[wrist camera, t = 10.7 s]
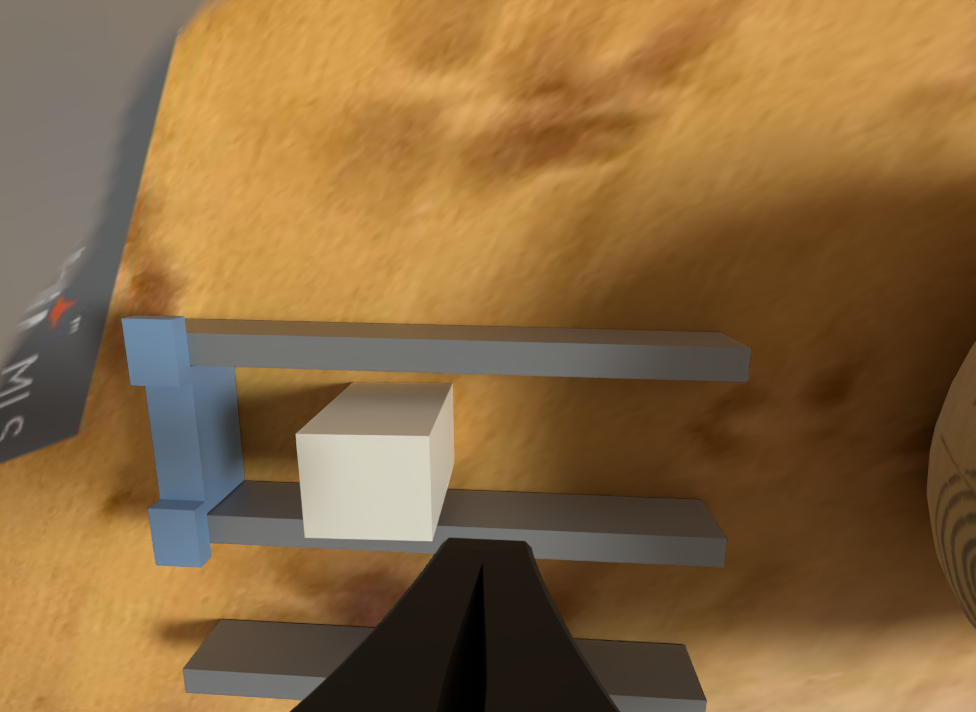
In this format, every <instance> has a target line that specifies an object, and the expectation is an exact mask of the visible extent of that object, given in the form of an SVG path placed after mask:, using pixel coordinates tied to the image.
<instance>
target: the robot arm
mask: <svg viewBox="0 0 976 712" xmlns="http://www.w3.org/2000/svg"><path fill="white" fill-rule="evenodd" d="M290 712H620V711H619V709H618V708H617V706H616V705H615V703H614V702H613V701H612V699H611V698H610V696H609V695H608V693H607V692H606V690H605V689H604V687H603V686H602V684H601V683H600V681H599V680H598V678H597V676H596V675H595V673H594V672H593V670H592V669H591V667H590V666H589V664H588V662H587V661H586V659H585V658H584V656H583V654H582V653H581V651H580V649H579V648H578V646H577V644H576V643H575V641H574V639H573V637H572V636H571V634H570V632H569V630H568V628H567V626H566V625H565V623H564V621H563V619H562V617H561V615H560V614H559V612H558V610H557V608H556V606H555V604H554V602H553V600H552V598H551V596H550V594H549V592H548V590H547V588H546V585H545V583H544V581H543V579H542V576H541V574H540V572H539V569H538V566H537V564H536V561H535V558H534V555H533V551H532V548H531V547H530V545H529V544H528V543H527V542H526V541H515V540H494V539H472V538H450V537H449V538H448V539H447V540H445V541H444V542H443V543H442V544H441V546H440V547H439V549H438V550H437V552H436V553H435V554H434V556H433V557H432V559H431V560H430V561H429V563H428V564H427V566H426V567H425V568H424V570H423V571H422V572H421V573H420V575H419V576H418V577H417V579H416V580H415V581H414V582H413V584H412V585H411V586H410V588H409V589H408V590H407V591H406V592H405V594H404V595H403V596H402V597H401V598H400V599H399V601H398V602H397V603H396V604H395V605H394V607H393V608H392V609H391V610H390V611H389V613H388V614H387V615H386V616H385V617H384V618H383V620H382V621H381V622H380V623H379V624H378V625H377V626H376V627H375V628H374V630H373V631H372V632H371V633H370V634H369V635H368V636H367V637H366V638H365V639H364V640H363V641H362V642H361V643H360V644H359V645H358V646H357V647H356V648H355V650H354V651H353V652H352V653H351V654H350V655H349V656H348V657H347V658H346V659H345V660H344V661H343V662H342V663H341V664H340V665H339V666H338V667H337V668H336V669H335V670H334V671H333V672H332V673H331V674H330V675H329V676H328V677H327V678H326V679H325V680H324V681H323V682H322V683H321V684H320V685H319V686H318V687H316V688H315V689H314V690H313V691H312V692H311V693H310V694H309V695H308V696H307V697H306V698H305V699H303V700H302V701H301V702H300V703H299V704H298V705H297V706H296V707H294V708H293V709H292V710H291V711H290Z"/></svg>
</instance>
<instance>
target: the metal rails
mask: <svg viewBox="0 0 976 712" xmlns="http://www.w3.org/2000/svg"><path fill="white" fill-rule="evenodd" d="M121 319H122V326H123V333H124V341H125V348H126V355H127V362H128V369H129V377H130V384H131V385H135V386H145V389H146V396H147V404H148V411H149V419H150V426H151V434H152V441H153V449H154V456H155V464H156V472H157V479H158V487H159V494H160V500H158V501H157V502H156V503H154V504H153V505H152V506H150V507H149V508H148V513H149V521H150V528H151V535H152V542H153V549H154V557H155V564H156V565H161V566H180V567H200V568H201V567H202V566H203V565H204V564H205V563H206V562H207V561H208V560H209V559H210V558H211V548H210V543H220V544H241V545H262V546H283V547H304V548H325V549H346V550H367V551H388V552H409V553H430V554H435V553H436V552H437V550H438V549H439V547H440V546H441V544H442V543H443V542H444V541H445V540H447V539H448V538H449V537H450V538H472V539H494V540H515V541H526V542H527V543H528V544H529V545H530V547H531V548H532V551H533V555H534V558H535V559H555V560H576V561H597V562H618V563H639V564H660V565H680V566H701V567H722V568H724V563H725V555H726V547H727V537H726V536H725V534H724V533H723V531H722V530H721V528H720V527H719V525H718V524H717V522H716V521H715V519H714V518H713V516H712V515H711V513H710V512H709V510H708V509H707V507H706V506H705V504H704V503H703V501H702V500H699V499H675V498H651V497H626V496H602V495H578V494H554V493H530V492H505V491H481V490H457V489H447V491H446V495H445V499H444V502H443V506H442V509H441V513H440V516H439V520H438V523H437V527H436V530H435V534H434V537H433V541H403V540H367V539H331V538H305V534H304V523H303V512H302V501H301V490H300V483H288V482H264V481H244V480H245V477H244V466H243V456H242V445H241V434H240V424H239V413H238V402H237V391H236V381H235V370H234V367H256V368H289V369H323V370H356V371H390V372H423V373H457V374H490V375H524V376H557V377H591V378H624V379H658V380H691V381H724V382H748V375H749V367H750V359H751V351H752V348H751V347H749V346H747V345H745V344H743V343H741V342H739V341H737V340H735V339H733V338H731V337H729V336H727V335H725V334H723V333H721V332H702V331H662V330H623V329H583V328H543V327H503V326H463V325H424V324H384V323H344V322H304V321H264V320H225V319H185V317H184V316H145V315H135V316H130V317H126V318H121ZM373 630H374V628H369V627H351V626H332V625H314V624H296V623H278V622H260V621H242V620H224V619H221V620H220V621H219V622H218V624H217V625H216V626H215V628H214V629H213V630H212V631H211V633H210V634H209V635H208V637H207V638H206V639H205V641H204V642H203V643H202V644H201V646H200V647H199V648H198V650H197V651H196V652H195V654H194V655H193V656H192V657H191V659H190V660H189V661H188V663H187V664H186V665H185V667H184V668H183V675H184V683H185V690H186V693H198V694H213V695H229V696H245V697H261V698H277V699H293V700H303V699H305V698H306V697H307V696H308V695H309V694H310V693H311V692H312V691H313V690H314V689H315V688H316V687H318V686H319V685H320V684H321V683H322V682H323V681H324V680H325V679H326V678H327V677H328V676H329V675H330V674H331V673H332V672H333V671H334V670H335V669H336V668H337V667H338V666H339V665H340V664H341V663H342V662H343V661H344V660H345V659H346V658H347V657H348V656H349V655H350V654H351V653H352V652H353V651H354V650H355V648H356V647H357V646H358V645H359V644H360V643H361V642H362V641H363V640H364V639H365V638H366V637H367V636H368V635H369V634H370V633H371V632H372V631H373ZM574 641H575V643H576V644H577V646H578V648H579V649H580V651H581V653H582V654H583V656H584V658H585V659H586V661H587V662H588V664H589V666H590V667H591V669H592V670H593V672H594V673H595V675H596V676H597V678H598V680H599V681H600V683H601V684H602V686H603V687H604V689H605V690H606V692H607V693H608V695H609V696H610V698H611V699H612V701H613V702H614V703H615V705H616V706H617V708H618V709H619V711H620V712H705V711H706V703H707V700H706V697H705V695H704V692H703V690H702V687H701V685H700V682H699V680H698V677H697V675H696V672H695V670H694V667H693V665H692V662H691V659H690V657H689V654H688V652H687V649H686V647H685V645H675V644H657V643H639V642H621V641H603V640H585V639H574Z"/></svg>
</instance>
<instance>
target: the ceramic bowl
mask: <svg viewBox="0 0 976 712" xmlns="http://www.w3.org/2000/svg"><path fill="white" fill-rule="evenodd" d="M926 494H927V501H928V508H929V514H930V521H931V528H932V534H933V539H934V544H935V550H936V555H937V557H938V560H939V562H940V565H941V567H942V570H943V572H944V574H945V577H946V579H947V581H948V583H949V585H950V587H951V589H952V591H953V593H954V595H955V597H956V599H957V601H958V603H959V605H960V607H961V609H962V611H963V613H964V614H965V615H966V617H967V618H968V619H969V621H970V622H971V623H972V625H973V626H974V627H975V629H976V341H975V343H974V344H973V346H972V348H971V349H970V351H969V353H968V355H967V356H966V358H965V360H964V362H963V364H962V365H961V367H960V369H959V371H958V373H957V374H956V376H955V378H954V380H953V382H952V384H951V386H950V389H949V391H948V394H947V396H946V399H945V401H944V404H943V407H942V410H941V412H940V415H939V418H938V420H937V423H936V425H935V430H934V434H933V439H932V444H931V448H930V454H929V467H928V479H927V492H926Z"/></svg>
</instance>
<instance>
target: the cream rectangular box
mask: <svg viewBox="0 0 976 712" xmlns="http://www.w3.org/2000/svg"><path fill="white" fill-rule="evenodd" d="M296 445H297V456H298V467H299V478H300V490H301V501H302V512H303V523H304V534H305V538H331V539H367V540H403V541H433V537H434V534H435V530H436V527H437V523H438V520H439V516H440V513H441V509H442V506H443V502H444V499H445V495H446V491H447V488H448V484H449V481H450V477H451V474H452V470H453V467H454V425H453V383H393V382H352V383H351V384H350V385H349V386H348V387H347V388H346V389H345V390H344V391H342V392H341V393H340V394H339V395H338V396H337V397H336V398H335V399H334V400H332V401H331V402H330V403H329V404H328V405H327V406H326V407H325V408H324V409H323V410H321V411H320V412H319V413H318V414H317V415H316V416H315V417H314V418H313V419H311V420H310V421H309V422H308V423H307V424H306V425H305V426H304V427H303V428H302V429H300V430H299V431H298V432H297V433H296Z"/></svg>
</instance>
